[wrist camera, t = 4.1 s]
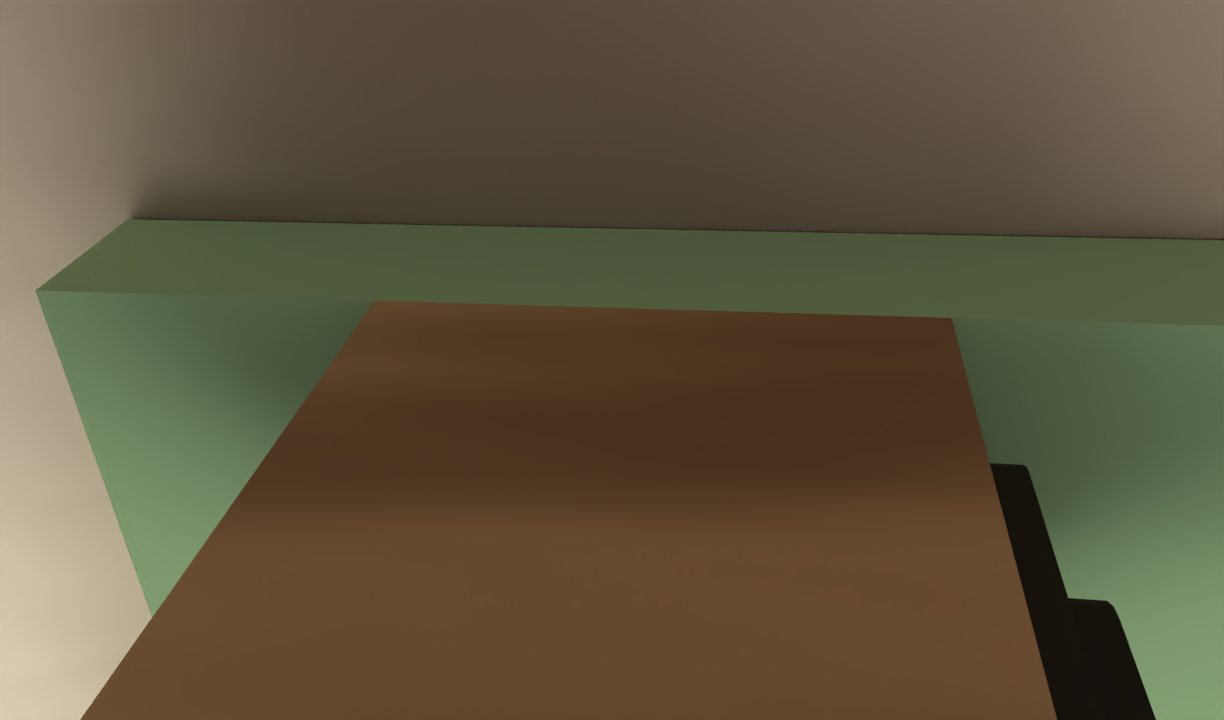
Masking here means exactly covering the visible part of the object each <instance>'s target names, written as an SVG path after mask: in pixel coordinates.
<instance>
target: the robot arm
mask: <svg viewBox="0 0 1224 720" xmlns="http://www.w3.org/2000/svg"><path fill="white" fill-rule="evenodd" d="M990 467H991V470H992V474H993V478H994V482H995V486H996V489H997V493H998V497H999V501H1000V505H1001V508H1002V512H1003V516H1004V520H1005V524H1006V527H1007V531H1008V535H1009V539H1010V543H1011V546H1012V550H1013V554H1014V558H1015V562H1016V566H1017V569H1018V573H1019V577H1020V581H1021V585H1022V588H1023V592H1024V596H1025V600H1026V604H1027V607H1028V611H1029V615H1030V619H1031V623H1032V626H1033V630H1034V634H1035V638H1036V642H1037V645H1038V649H1039V653H1040V657H1041V661H1042V664H1043V668H1044V672H1045V676H1046V680H1047V683H1048V687H1049V691H1050V695H1051V699H1052V703H1053V706H1054V710H1055V714H1056V718H1057V720H1156V718H1155V715H1154V713H1153V710H1152V707H1151V704H1150V702H1149V699H1148V696H1147V693H1146V690H1145V688H1144V685H1143V682H1142V679H1141V677H1140V674H1139V671H1138V668H1137V665H1136V663H1135V660H1134V657H1133V654H1132V651H1131V649H1130V646H1129V643H1128V640H1127V638H1126V635H1125V632H1124V629H1123V626H1122V624H1121V621H1120V618H1119V616H1118V614H1117V612H1116V610H1115V608H1114V606H1113V605H1112V604H1110V603H1109V602H1108V601H1105V600H1090V599H1075V598H1068V595H1067V592H1066V589H1065V586H1064V582H1063V579H1062V576H1061V573H1060V570H1059V566H1058V563H1057V560H1056V557H1055V553H1054V550H1053V547H1052V544H1051V541H1050V537H1049V534H1048V531H1047V528H1046V524H1045V521H1044V518H1043V515H1042V512H1041V508H1040V505H1039V502H1038V499H1037V495H1036V492H1035V489H1034V486H1033V483H1032V479H1031V476H1030V473H1029V471H1028V469H1027V467H1026V466H1025V465H1018V464H997V463H990Z"/></svg>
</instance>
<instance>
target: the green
mask: <svg viewBox="0 0 1224 720" xmlns="http://www.w3.org/2000/svg"><path fill="white" fill-rule="evenodd" d="M36 293H37V295H38V298H39V301H40V304H41V307H42V309H43V312H44V315H45V318H46V321H47V323H48V326H49V329H50V332H51V335H52V338H53V340H54V343H55V346H56V349H57V352H58V354H59V357H60V360H61V363H62V366H63V368H64V371H65V374H66V377H67V380H68V382H69V385H70V388H71V391H72V394H73V396H74V399H75V402H76V405H77V408H78V410H79V413H80V416H81V419H82V422H83V424H84V427H85V430H86V433H87V436H88V438H89V441H90V444H91V447H92V450H93V452H94V455H95V458H96V461H97V464H98V466H99V469H100V472H101V475H102V478H103V480H104V483H105V486H106V489H107V492H108V494H109V497H110V500H111V503H112V506H113V508H114V511H115V514H116V517H117V520H118V522H119V525H120V528H121V531H122V534H123V536H124V539H125V542H126V545H127V548H128V551H129V553H130V556H131V559H132V562H133V565H134V567H135V570H136V573H137V576H138V579H139V581H140V584H141V587H142V590H143V593H144V595H145V598H146V601H147V604H148V607H149V609H150V612H151V615H152V617H153V616H154V614H155V613H156V612H157V610H158V609H159V607H160V606H161V604H162V603H163V602H164V600H165V599H166V597H167V596H168V594H169V593H170V592H171V590H172V589H173V587H174V586H175V584H176V583H177V582H178V580H179V579H180V577H181V576H182V574H183V573H184V572H185V570H186V569H187V567H188V566H189V565H190V563H191V562H192V560H193V559H194V557H195V556H196V555H197V553H198V552H199V550H200V549H201V547H202V546H203V545H204V543H205V542H206V540H207V539H208V537H209V536H210V535H211V533H212V532H213V530H214V529H215V528H216V526H217V525H218V523H219V522H220V520H221V519H222V518H223V516H224V515H225V513H226V512H227V510H228V509H229V508H230V506H231V505H232V503H233V502H234V500H235V499H236V498H237V496H238V495H239V493H240V492H241V491H242V489H243V488H244V486H245V485H246V483H247V482H248V481H249V479H250V478H251V476H252V475H253V473H254V472H255V471H256V469H257V468H258V466H259V465H260V463H261V462H262V461H263V459H264V458H265V456H266V455H267V454H268V452H269V451H270V449H271V448H272V446H273V445H274V444H275V442H276V441H277V439H278V438H279V436H280V435H281V434H282V432H283V431H284V429H285V428H286V426H287V425H288V424H289V422H290V421H291V419H292V418H293V417H294V415H295V414H296V412H297V411H298V409H299V408H300V407H301V405H302V404H303V402H304V401H305V399H306V398H307V397H308V395H309V394H310V392H311V391H312V389H313V388H314V387H315V385H316V384H317V382H318V381H319V380H320V378H321V377H322V375H323V374H324V372H325V371H326V370H327V368H328V367H329V365H330V364H331V362H332V361H333V360H334V358H335V357H336V355H337V354H338V352H339V351H340V350H341V348H342V347H343V345H344V344H345V343H346V341H347V340H348V338H349V337H350V335H351V334H352V333H353V331H354V330H355V328H356V327H357V325H358V324H359V323H360V321H361V320H362V318H363V317H364V315H365V314H366V313H367V311H368V310H369V308H370V307H371V305H372V304H373V303H374V301H404V302H437V303H471V304H504V305H538V306H571V307H605V308H639V309H672V310H706V311H739V312H773V313H806V314H839V315H873V316H907V317H940V318H952V322H953V326H954V330H955V333H956V337H957V341H958V345H959V349H960V352H961V356H962V360H963V364H964V368H965V371H966V375H967V379H968V383H969V387H970V390H971V394H972V398H973V402H974V406H975V409H976V413H977V417H978V421H979V425H980V429H981V432H982V436H983V440H984V444H985V448H986V451H987V455H988V459H989V463H997V464H1018V465H1025V466H1026V467H1027V469H1028V471H1029V473H1030V476H1031V479H1032V483H1033V486H1034V489H1035V492H1036V495H1037V499H1038V502H1039V505H1040V508H1041V512H1042V515H1043V518H1044V521H1045V524H1046V528H1047V531H1048V534H1049V537H1050V541H1051V544H1052V547H1053V550H1054V553H1055V557H1056V560H1057V563H1058V566H1059V570H1060V573H1061V576H1062V579H1063V582H1064V586H1065V589H1066V592H1067V595H1068V598H1075V599H1090V600H1105V601H1108V602H1109V603H1110V604H1112V605H1113V606H1114V608H1115V610H1116V612H1117V614H1118V616H1119V618H1120V621H1121V624H1122V626H1123V629H1124V632H1125V635H1126V638H1127V640H1128V643H1129V646H1130V649H1131V651H1132V654H1133V657H1134V660H1135V663H1136V665H1137V668H1138V671H1139V674H1140V677H1141V679H1142V682H1143V685H1144V688H1145V690H1146V693H1147V696H1148V699H1149V702H1150V704H1151V707H1152V710H1153V713H1154V715H1155V718H1156V720H1224V240H1185V239H1133V238H1080V237H1028V236H976V235H923V234H871V233H819V232H766V231H714V230H662V229H609V228H557V227H505V226H453V225H400V224H348V223H296V222H243V221H191V220H139V219H128V220H127V221H125V222H124V223H123V224H121V225H120V226H119V227H118V228H116V229H115V230H114V231H112V232H111V233H110V234H109V235H107V236H106V237H105V238H103V239H102V240H101V241H99V242H98V243H97V244H96V245H94V246H93V247H92V248H90V249H89V250H88V251H86V252H85V253H84V254H83V255H81V256H80V257H79V258H77V259H76V260H75V261H73V262H72V263H71V264H70V265H68V266H67V267H66V268H64V269H63V270H62V271H61V272H59V273H58V274H57V275H55V276H54V277H53V278H51V279H50V280H49V281H48V282H46V283H45V284H44V285H42V286H41V287H40V288H38V289H37V290H36Z"/></svg>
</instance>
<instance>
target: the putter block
mask: <svg viewBox="0 0 1224 720" xmlns="http://www.w3.org/2000/svg"><path fill="white" fill-rule="evenodd" d="M81 720H1057V718H1056V714H1055V710H1054V706H1053V703H1052V699H1051V695H1050V691H1049V687H1048V683H1047V680H1046V676H1045V672H1044V668H1043V664H1042V661H1041V657H1040V653H1039V649H1038V645H1037V642H1036V638H1035V634H1034V630H1033V626H1032V623H1031V619H1030V615H1029V611H1028V607H1027V604H1026V600H1025V596H1024V592H1023V588H1022V585H1021V581H1020V577H1019V573H1018V569H1017V566H1016V562H1015V558H1014V554H1013V550H1012V546H1011V543H1010V539H1009V535H1008V531H1007V527H1006V524H1005V520H1004V516H1003V512H1002V508H1001V505H1000V501H999V497H998V493H997V489H996V486H995V482H994V478H993V474H992V470H991V467H990V463H989V459H988V455H987V451H986V448H985V444H984V440H983V436H982V432H981V429H980V425H979V421H978V417H977V413H976V409H975V406H974V402H973V398H972V394H971V390H970V387H969V383H968V379H967V375H966V371H965V368H964V364H963V360H962V356H961V352H960V349H959V345H958V341H957V337H956V333H955V330H954V326H953V322H952V318H940V317H907V316H873V315H839V314H806V313H773V312H739V311H706V310H672V309H639V308H605V307H571V306H538V305H504V304H471V303H437V302H404V301H374V303H373V304H372V305H371V307H370V308H369V310H368V311H367V313H366V314H365V315H364V317H363V318H362V320H361V321H360V323H359V324H358V325H357V327H356V328H355V330H354V331H353V333H352V334H351V335H350V337H349V338H348V340H347V341H346V343H345V344H344V345H343V347H342V348H341V350H340V351H339V352H338V354H337V355H336V357H335V358H334V360H333V361H332V362H331V364H330V365H329V367H328V368H327V370H326V371H325V372H324V374H323V375H322V377H321V378H320V380H319V381H318V382H317V384H316V385H315V387H314V388H313V389H312V391H311V392H310V394H309V395H308V397H307V398H306V399H305V401H304V402H303V404H302V405H301V407H300V408H299V409H298V411H297V412H296V414H295V415H294V417H293V418H292V419H291V421H290V422H289V424H288V425H287V426H286V428H285V429H284V431H283V432H282V434H281V435H280V436H279V438H278V439H277V441H276V442H275V444H274V445H273V446H272V448H271V449H270V451H269V452H268V454H267V455H266V456H265V458H264V459H263V461H262V462H261V463H260V465H259V466H258V468H257V469H256V471H255V472H254V473H253V475H252V476H251V478H250V479H249V481H248V482H247V483H246V485H245V486H244V488H243V489H242V491H241V492H240V493H239V495H238V496H237V498H236V499H235V500H234V502H233V503H232V505H231V506H230V508H229V509H228V510H227V512H226V513H225V515H224V516H223V518H222V519H221V520H220V522H219V523H218V525H217V526H216V528H215V529H214V530H213V532H212V533H211V535H210V536H209V537H208V539H207V540H206V542H205V543H204V545H203V546H202V547H201V549H200V550H199V552H198V553H197V555H196V556H195V557H194V559H193V560H192V562H191V563H190V565H189V566H188V567H187V569H186V570H185V572H184V573H183V574H182V576H181V577H180V579H179V580H178V582H177V583H176V584H175V586H174V587H173V589H172V590H171V592H170V593H169V594H168V596H167V597H166V599H165V600H164V602H163V603H162V604H161V606H160V607H159V609H158V610H157V612H156V613H155V614H154V616H153V617H152V619H151V620H150V621H149V623H148V624H147V626H146V627H145V629H144V630H143V631H142V633H141V634H140V636H139V637H138V639H137V640H136V641H135V643H134V644H133V646H132V647H131V649H130V650H129V651H128V653H127V654H126V656H125V657H124V658H123V660H122V661H121V663H120V664H119V666H118V667H117V668H116V670H115V671H114V673H113V674H112V676H111V677H110V678H109V680H108V681H107V683H106V684H105V686H104V687H103V688H102V690H101V691H100V693H99V694H98V695H97V697H96V698H95V700H94V701H93V703H92V704H91V705H90V707H89V708H88V710H87V711H86V713H85V714H84V715H83V717H82V718H81Z"/></svg>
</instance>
